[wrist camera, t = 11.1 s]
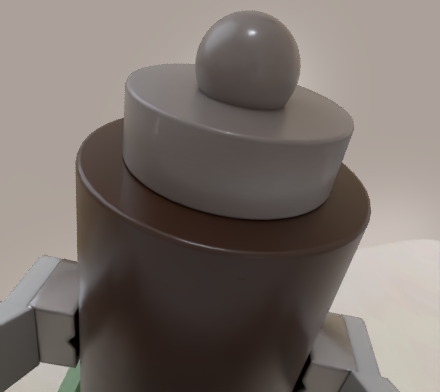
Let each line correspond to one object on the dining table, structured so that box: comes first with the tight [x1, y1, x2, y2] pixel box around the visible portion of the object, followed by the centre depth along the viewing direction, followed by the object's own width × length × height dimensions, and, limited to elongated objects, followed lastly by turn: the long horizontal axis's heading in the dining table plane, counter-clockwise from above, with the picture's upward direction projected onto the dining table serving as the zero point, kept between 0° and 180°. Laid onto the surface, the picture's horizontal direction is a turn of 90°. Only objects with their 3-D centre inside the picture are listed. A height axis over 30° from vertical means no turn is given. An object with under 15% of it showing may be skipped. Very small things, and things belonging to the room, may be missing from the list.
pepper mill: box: [76, 11, 371, 392], centre depth 9 cm, size 5×5×13 cm
